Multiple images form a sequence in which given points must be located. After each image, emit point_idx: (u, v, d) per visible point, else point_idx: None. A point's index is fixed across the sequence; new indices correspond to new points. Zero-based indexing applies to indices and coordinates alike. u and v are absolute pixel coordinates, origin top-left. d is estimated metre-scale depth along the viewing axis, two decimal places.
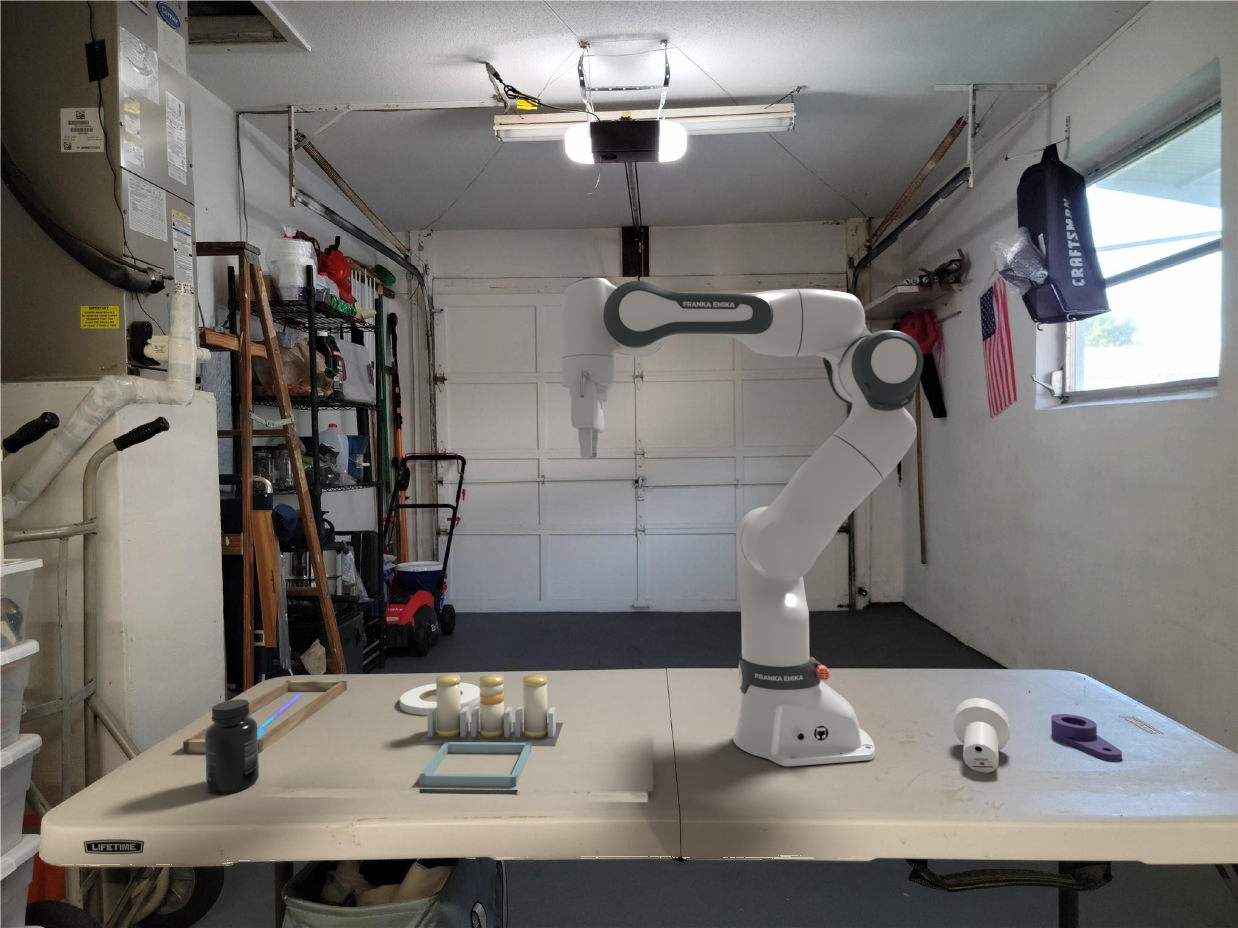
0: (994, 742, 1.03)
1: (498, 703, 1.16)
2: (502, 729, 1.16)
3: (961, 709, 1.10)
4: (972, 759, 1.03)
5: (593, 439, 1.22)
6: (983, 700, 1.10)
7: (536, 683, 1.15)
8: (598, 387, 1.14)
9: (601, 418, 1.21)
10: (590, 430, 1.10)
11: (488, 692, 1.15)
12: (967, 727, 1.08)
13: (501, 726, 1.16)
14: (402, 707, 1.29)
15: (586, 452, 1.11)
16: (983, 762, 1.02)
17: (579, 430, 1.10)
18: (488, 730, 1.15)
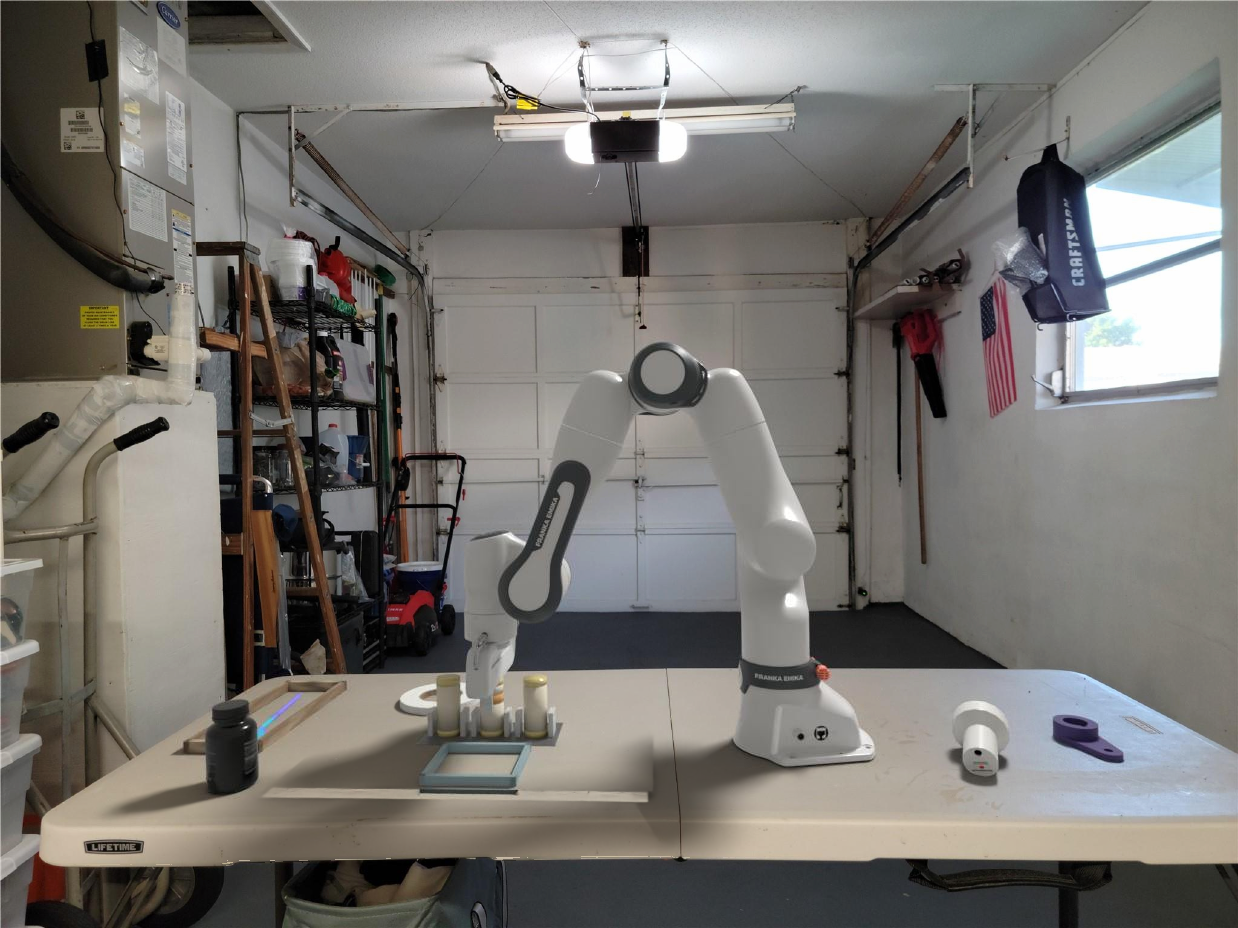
0: (994, 745, 1.02)
1: (498, 703, 1.16)
2: (502, 729, 1.16)
3: (960, 712, 1.09)
4: (972, 763, 1.02)
5: None
6: (982, 702, 1.09)
7: (536, 683, 1.15)
8: (499, 643, 1.15)
9: (507, 658, 1.22)
10: None
11: None
12: (966, 730, 1.07)
13: (501, 726, 1.16)
14: (402, 707, 1.29)
15: (487, 709, 1.14)
16: (983, 766, 1.01)
17: None
18: (488, 730, 1.15)
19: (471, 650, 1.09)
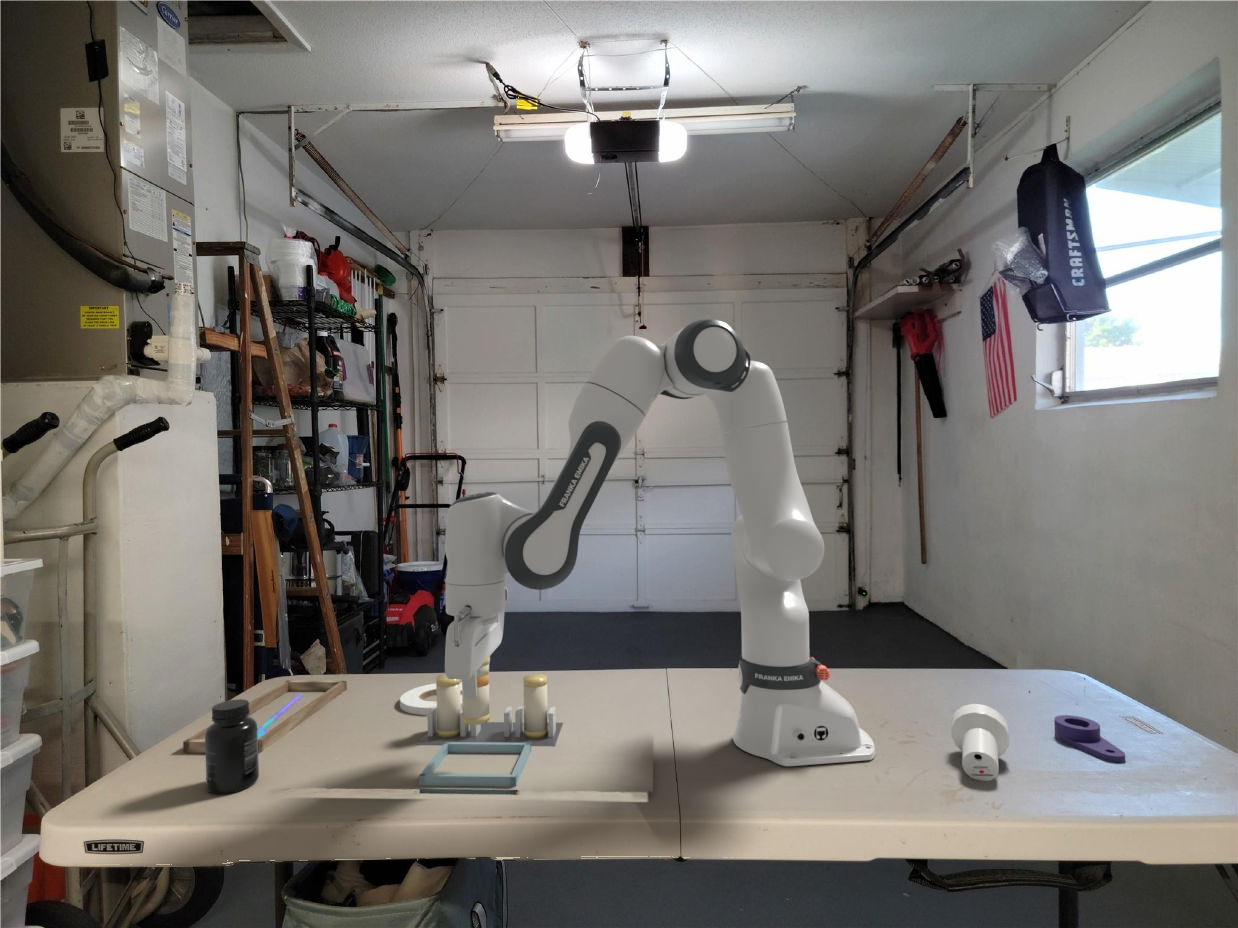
0: (994, 749, 1.01)
1: (483, 686, 1.03)
2: (486, 715, 1.03)
3: (959, 716, 1.08)
4: (971, 767, 1.00)
5: None
6: (982, 705, 1.08)
7: (536, 683, 1.15)
8: (484, 617, 1.02)
9: (494, 637, 1.09)
10: None
11: None
12: (966, 734, 1.05)
13: (486, 712, 1.03)
14: (402, 707, 1.29)
15: (470, 692, 1.01)
16: (983, 770, 0.99)
17: None
18: (471, 716, 1.02)
19: (452, 624, 0.96)
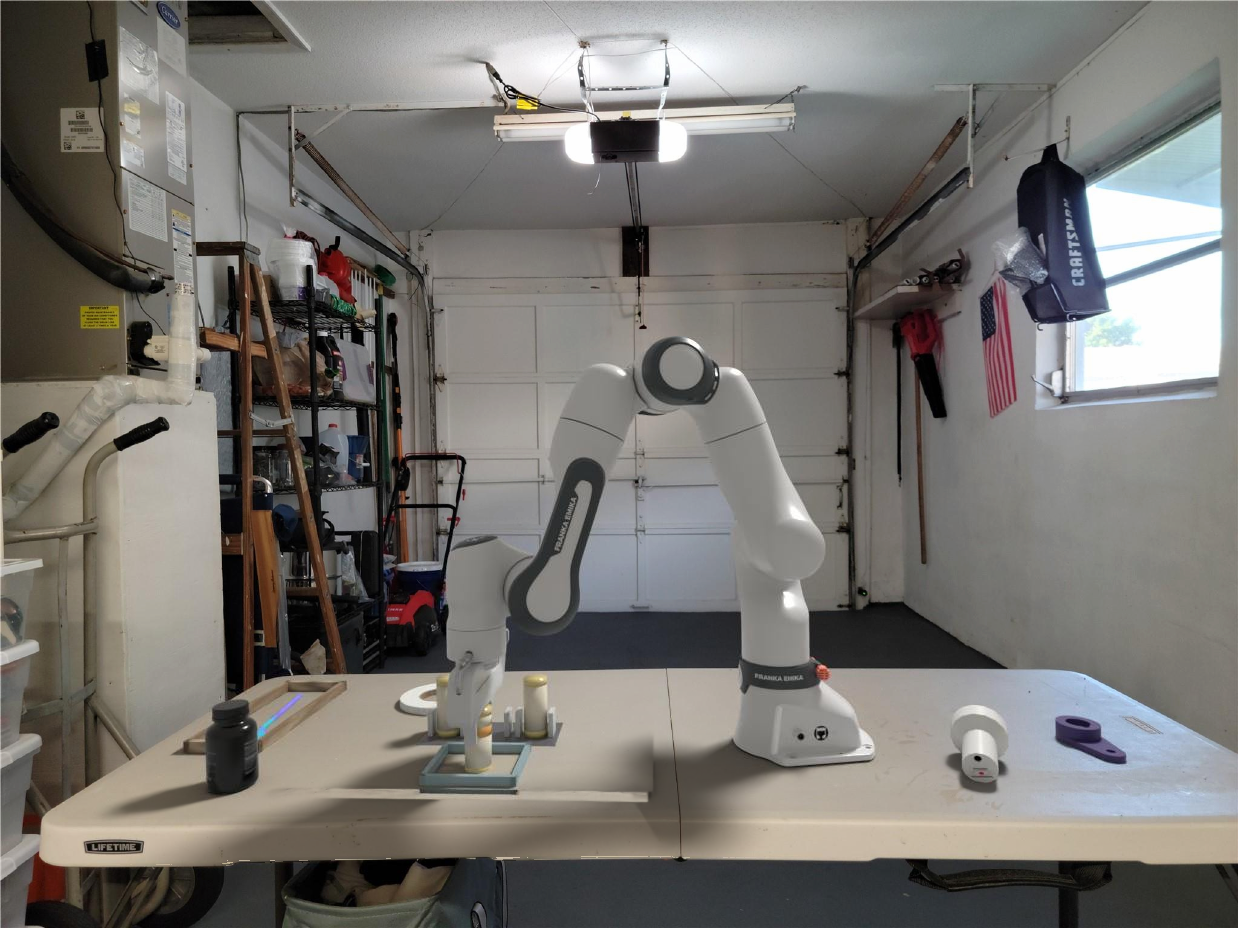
0: (993, 751, 1.00)
1: (485, 736, 1.03)
2: (489, 766, 1.03)
3: (958, 717, 1.07)
4: (971, 769, 1.00)
5: None
6: (981, 707, 1.07)
7: (536, 683, 1.15)
8: (485, 662, 1.02)
9: (496, 679, 1.09)
10: None
11: None
12: (965, 735, 1.05)
13: (488, 762, 1.03)
14: (402, 707, 1.29)
15: (471, 740, 1.00)
16: (983, 772, 0.99)
17: None
18: (473, 767, 1.02)
19: (453, 672, 0.96)
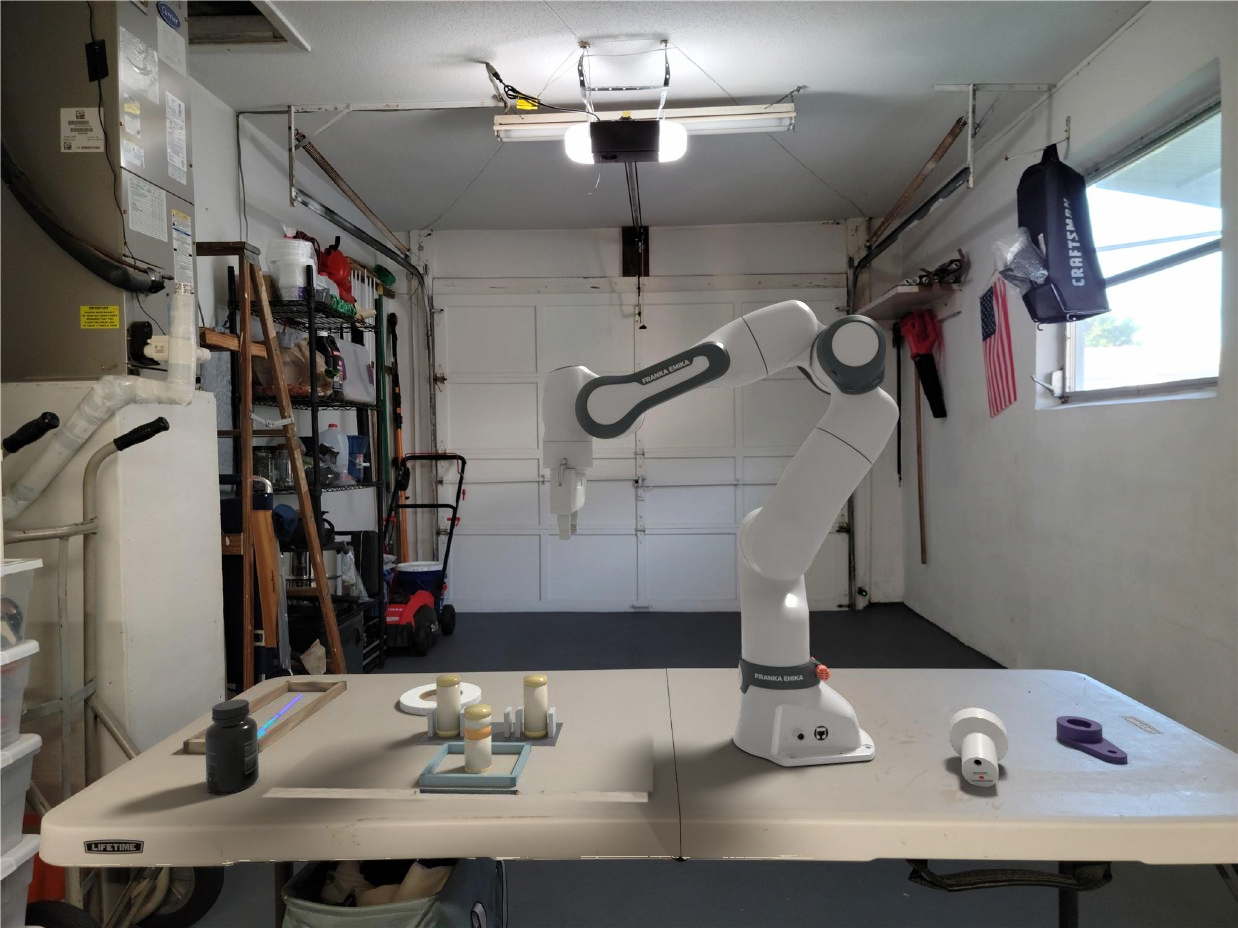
0: (993, 755, 0.99)
1: (485, 738, 1.03)
2: (489, 767, 1.03)
3: (957, 720, 1.06)
4: (971, 773, 0.99)
5: (573, 515, 1.27)
6: (980, 709, 1.06)
7: (536, 683, 1.15)
8: (577, 471, 1.19)
9: (581, 496, 1.26)
10: (568, 515, 1.15)
11: (473, 726, 1.02)
12: (964, 739, 1.03)
13: (488, 763, 1.03)
14: (402, 707, 1.29)
15: (565, 535, 1.16)
16: (983, 776, 0.98)
17: (558, 514, 1.15)
18: (473, 768, 1.02)
19: (554, 469, 1.13)
